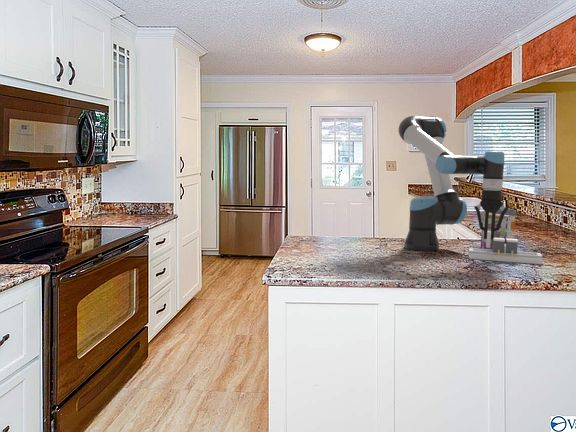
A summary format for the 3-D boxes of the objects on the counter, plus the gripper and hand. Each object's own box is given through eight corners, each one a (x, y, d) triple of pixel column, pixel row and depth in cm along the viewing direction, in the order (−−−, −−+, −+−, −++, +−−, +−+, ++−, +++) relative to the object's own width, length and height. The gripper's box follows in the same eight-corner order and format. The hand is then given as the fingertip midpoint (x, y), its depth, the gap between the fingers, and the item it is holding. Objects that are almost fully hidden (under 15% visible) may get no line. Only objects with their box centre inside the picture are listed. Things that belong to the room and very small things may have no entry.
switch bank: (469, 258, 205) (469, 244, 204) (468, 254, 214) (469, 240, 213) (542, 264, 196) (543, 249, 195) (538, 259, 205) (540, 245, 205)
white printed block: (491, 239, 258) (493, 210, 257) (486, 235, 271) (488, 208, 269) (517, 240, 256) (519, 211, 255) (510, 236, 269) (512, 208, 267)
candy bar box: (479, 250, 226) (482, 213, 224) (484, 248, 229) (486, 213, 227) (505, 253, 218) (507, 216, 216) (509, 252, 222) (512, 215, 220)
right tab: (505, 254, 203) (506, 239, 202) (505, 253, 206) (506, 238, 206) (517, 255, 201) (518, 240, 201) (515, 253, 205) (517, 239, 204)
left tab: (493, 253, 204) (493, 238, 204) (492, 252, 208) (493, 237, 207) (503, 254, 203) (504, 239, 202) (503, 252, 207) (504, 238, 206)
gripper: (475, 189, 202) (471, 247, 205) (510, 190, 198) (505, 249, 201) (474, 188, 209) (470, 244, 212) (508, 189, 205) (504, 247, 208)
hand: (487, 247), depth 206 cm, fingers closed
